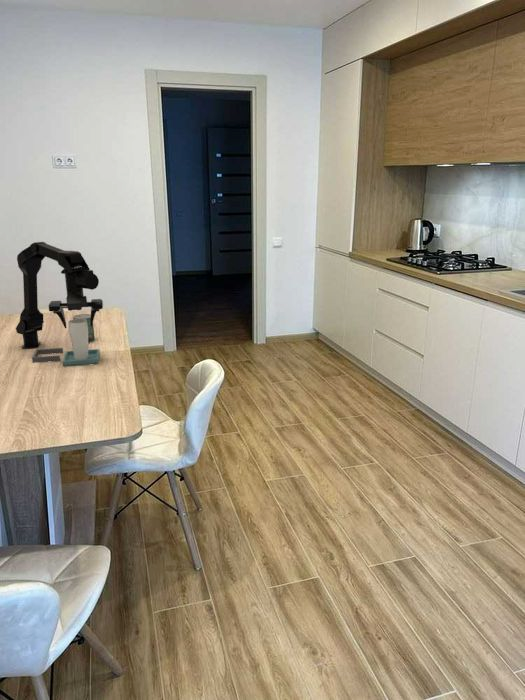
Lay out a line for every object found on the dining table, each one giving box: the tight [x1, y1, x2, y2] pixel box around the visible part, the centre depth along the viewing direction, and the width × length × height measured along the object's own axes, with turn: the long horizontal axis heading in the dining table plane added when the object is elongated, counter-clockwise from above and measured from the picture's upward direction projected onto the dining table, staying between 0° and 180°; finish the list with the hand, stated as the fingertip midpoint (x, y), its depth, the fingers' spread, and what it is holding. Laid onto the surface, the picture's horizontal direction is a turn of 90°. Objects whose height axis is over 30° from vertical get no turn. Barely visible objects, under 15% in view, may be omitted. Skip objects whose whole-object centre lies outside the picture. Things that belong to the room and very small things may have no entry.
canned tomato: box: [72, 313, 96, 344], centre depth 221 cm, size 8×8×11 cm
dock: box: [31, 347, 64, 364], centre depth 201 cm, size 11×10×2 cm
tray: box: [61, 348, 101, 367], centre depth 198 cm, size 13×13×2 cm
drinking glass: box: [68, 319, 89, 360], centre depth 196 cm, size 7×7×15 cm
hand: (78, 327), depth 195 cm, fingers open, 9 cm apart
